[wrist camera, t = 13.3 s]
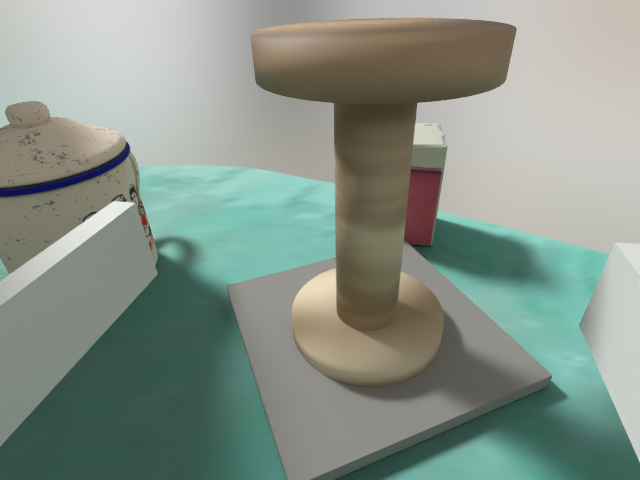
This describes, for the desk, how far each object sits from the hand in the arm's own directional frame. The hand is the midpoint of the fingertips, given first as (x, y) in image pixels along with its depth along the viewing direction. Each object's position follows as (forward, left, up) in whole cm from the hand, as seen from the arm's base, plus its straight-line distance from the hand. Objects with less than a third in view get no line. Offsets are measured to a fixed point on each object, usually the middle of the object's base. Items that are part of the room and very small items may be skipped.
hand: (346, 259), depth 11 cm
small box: (-15, +12, -10) cm, 21 cm away
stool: (-6, +4, -9) cm, 11 cm away
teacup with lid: (-20, -10, -10) cm, 24 cm away
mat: (-6, +4, -10) cm, 12 cm away
